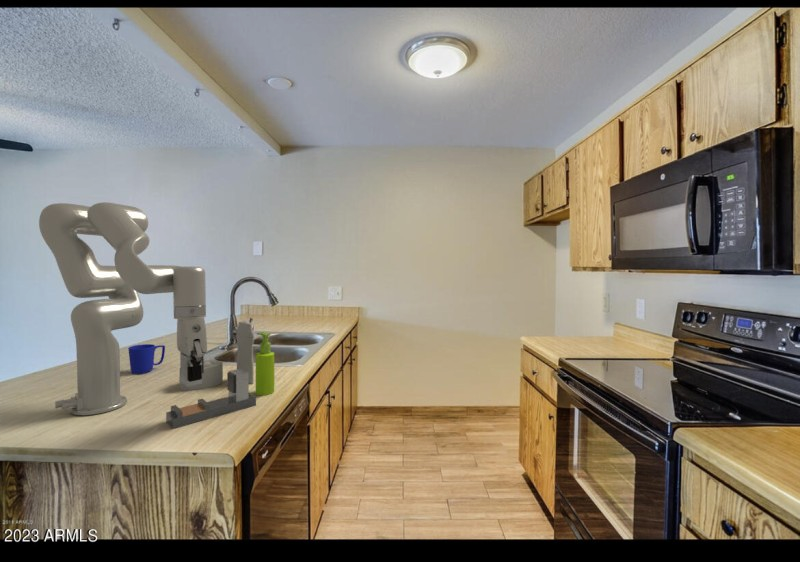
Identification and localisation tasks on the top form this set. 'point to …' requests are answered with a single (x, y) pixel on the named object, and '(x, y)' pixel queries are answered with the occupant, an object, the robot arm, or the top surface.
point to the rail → (215, 402)
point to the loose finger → (184, 370)
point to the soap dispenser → (265, 367)
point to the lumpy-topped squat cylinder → (207, 375)
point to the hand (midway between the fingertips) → (191, 377)
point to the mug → (143, 358)
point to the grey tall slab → (245, 348)
